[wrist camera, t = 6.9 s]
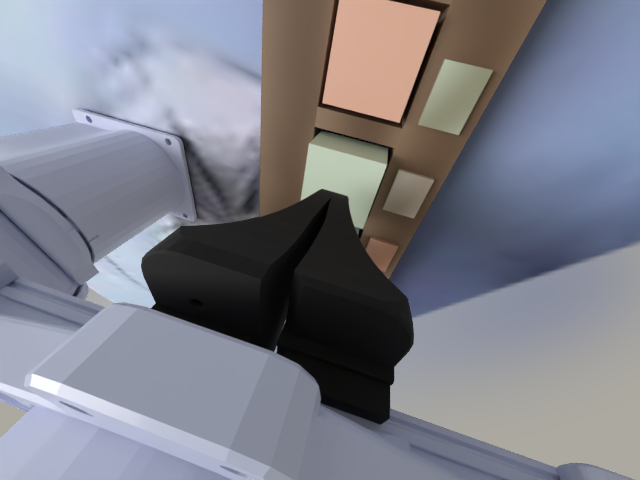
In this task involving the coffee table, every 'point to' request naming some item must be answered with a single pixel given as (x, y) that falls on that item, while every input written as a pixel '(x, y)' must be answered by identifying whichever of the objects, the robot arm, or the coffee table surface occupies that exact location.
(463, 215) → the coffee table surface
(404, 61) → the terracotta key
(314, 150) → the sage key
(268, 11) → the keypad
